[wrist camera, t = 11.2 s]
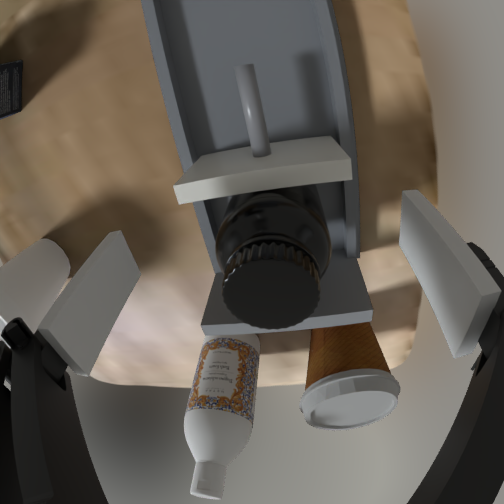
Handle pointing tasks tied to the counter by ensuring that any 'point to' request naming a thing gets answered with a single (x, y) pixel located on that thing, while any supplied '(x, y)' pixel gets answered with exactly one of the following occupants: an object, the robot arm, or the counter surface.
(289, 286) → the supplement bottle
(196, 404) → the bath foam
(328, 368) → the disposable coffee cup
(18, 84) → the small box
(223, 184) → the pusher
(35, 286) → the foam cup
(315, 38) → the tray
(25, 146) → the counter surface
